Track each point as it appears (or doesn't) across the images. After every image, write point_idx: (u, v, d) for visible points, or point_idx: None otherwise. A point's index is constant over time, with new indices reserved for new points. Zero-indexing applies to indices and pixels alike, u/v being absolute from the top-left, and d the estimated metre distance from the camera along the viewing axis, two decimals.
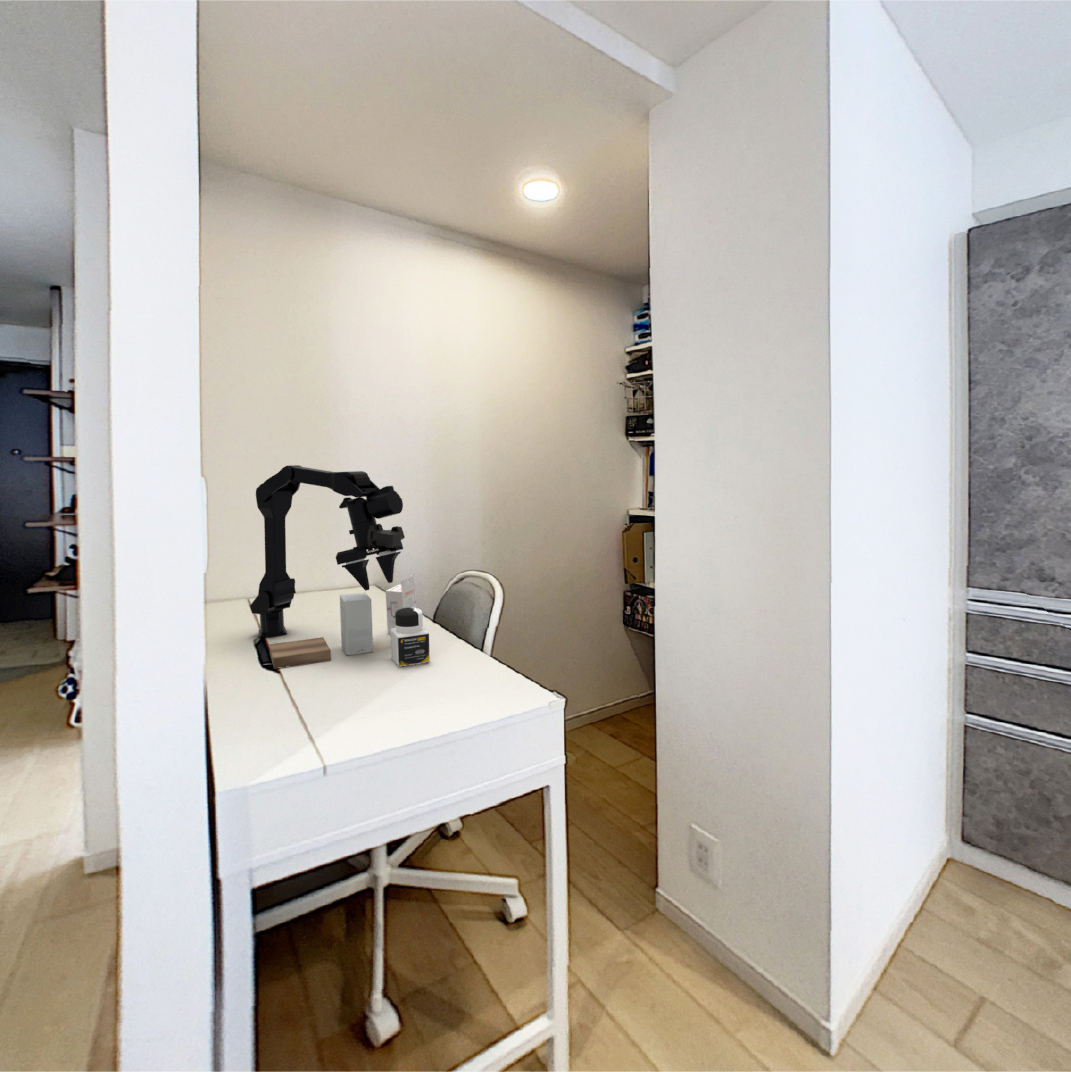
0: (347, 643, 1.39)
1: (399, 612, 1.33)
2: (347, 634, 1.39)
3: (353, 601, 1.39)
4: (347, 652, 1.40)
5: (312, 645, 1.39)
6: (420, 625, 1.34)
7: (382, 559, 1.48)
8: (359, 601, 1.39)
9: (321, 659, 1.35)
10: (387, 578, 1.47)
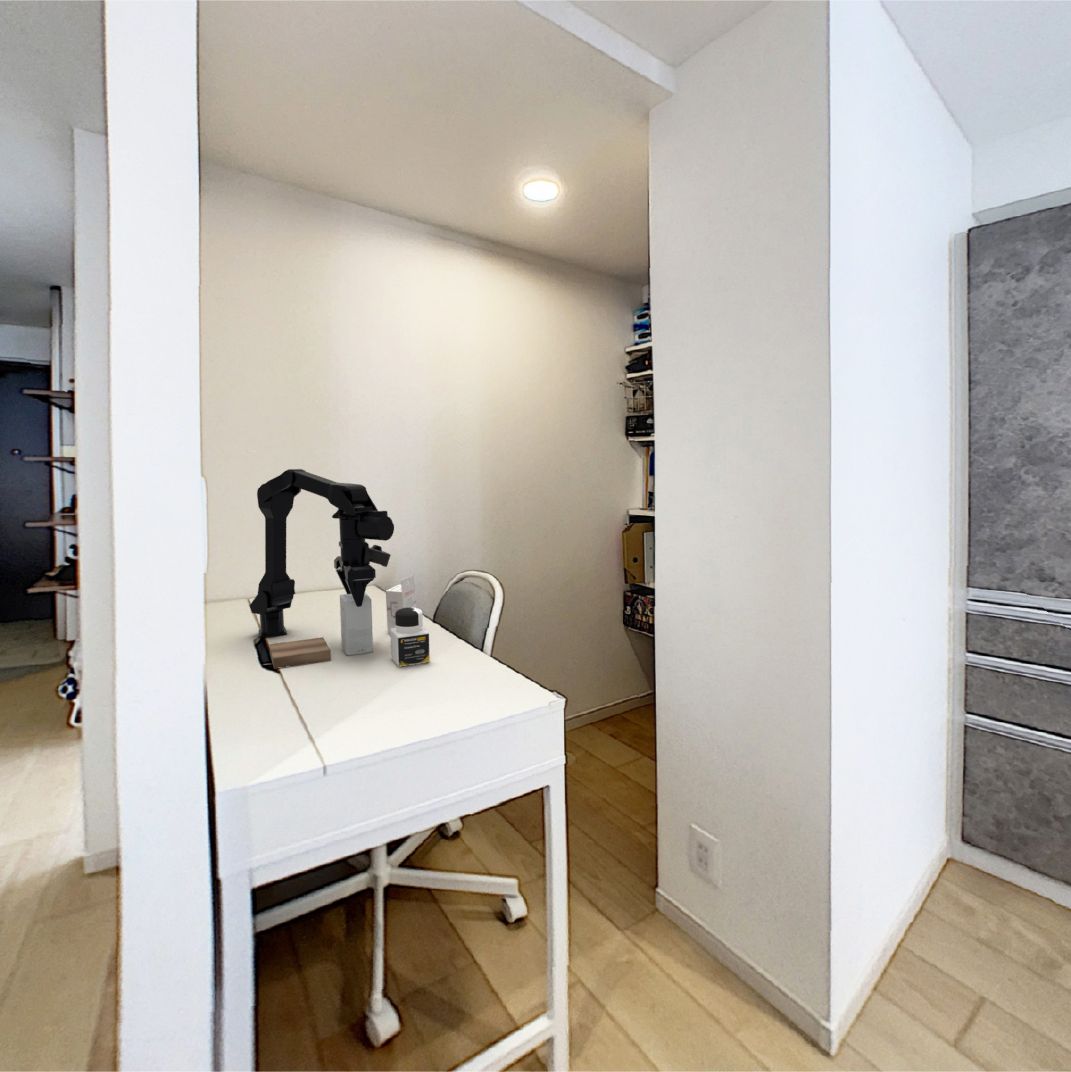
0: (347, 643, 1.39)
1: (399, 612, 1.33)
2: (347, 634, 1.39)
3: (353, 601, 1.39)
4: (347, 652, 1.40)
5: (312, 645, 1.39)
6: (420, 625, 1.34)
7: None
8: None
9: (321, 659, 1.35)
10: None
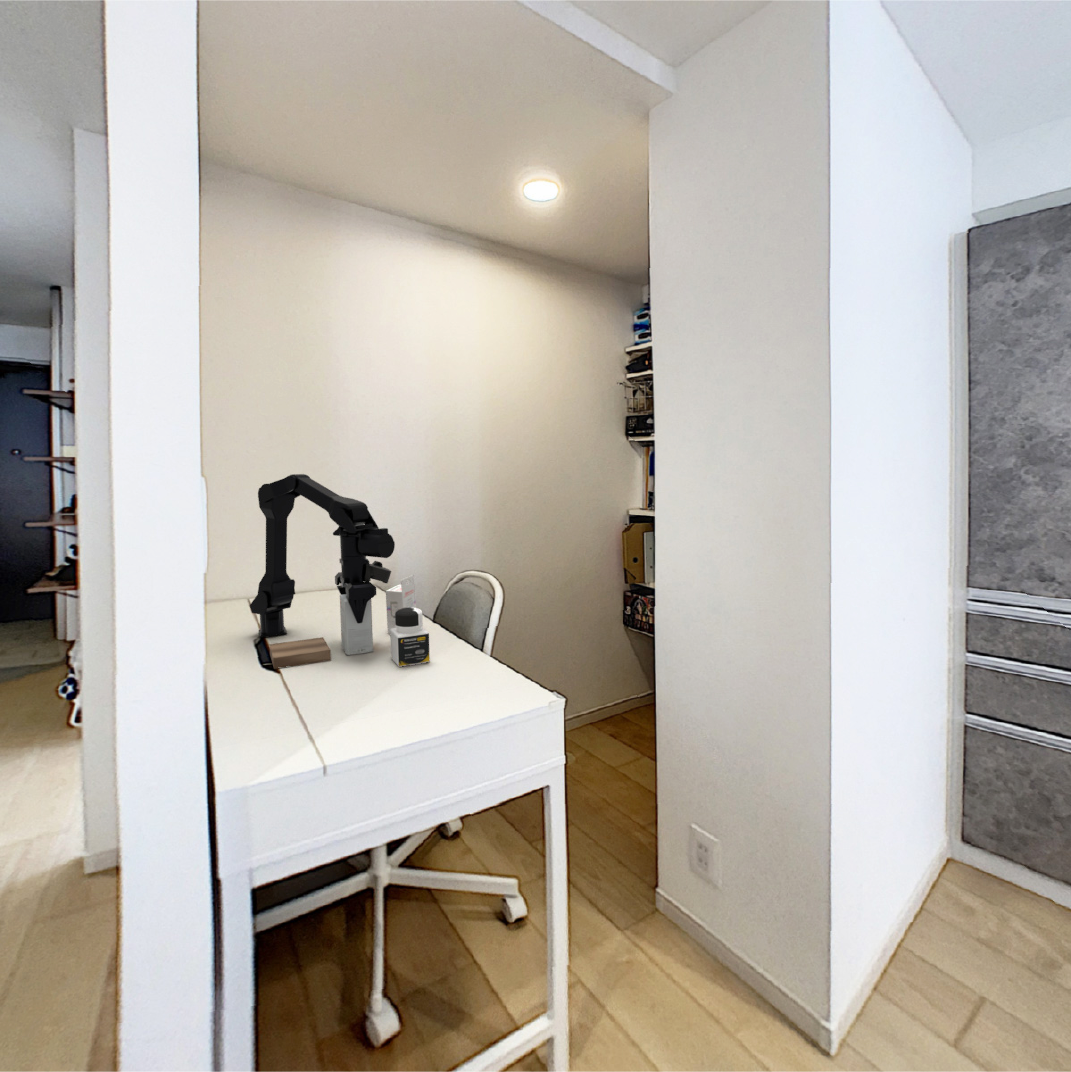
0: (347, 643, 1.39)
1: (399, 612, 1.33)
2: (347, 634, 1.39)
3: None
4: (347, 652, 1.40)
5: (312, 645, 1.39)
6: (420, 625, 1.34)
7: None
8: None
9: (321, 659, 1.35)
10: None
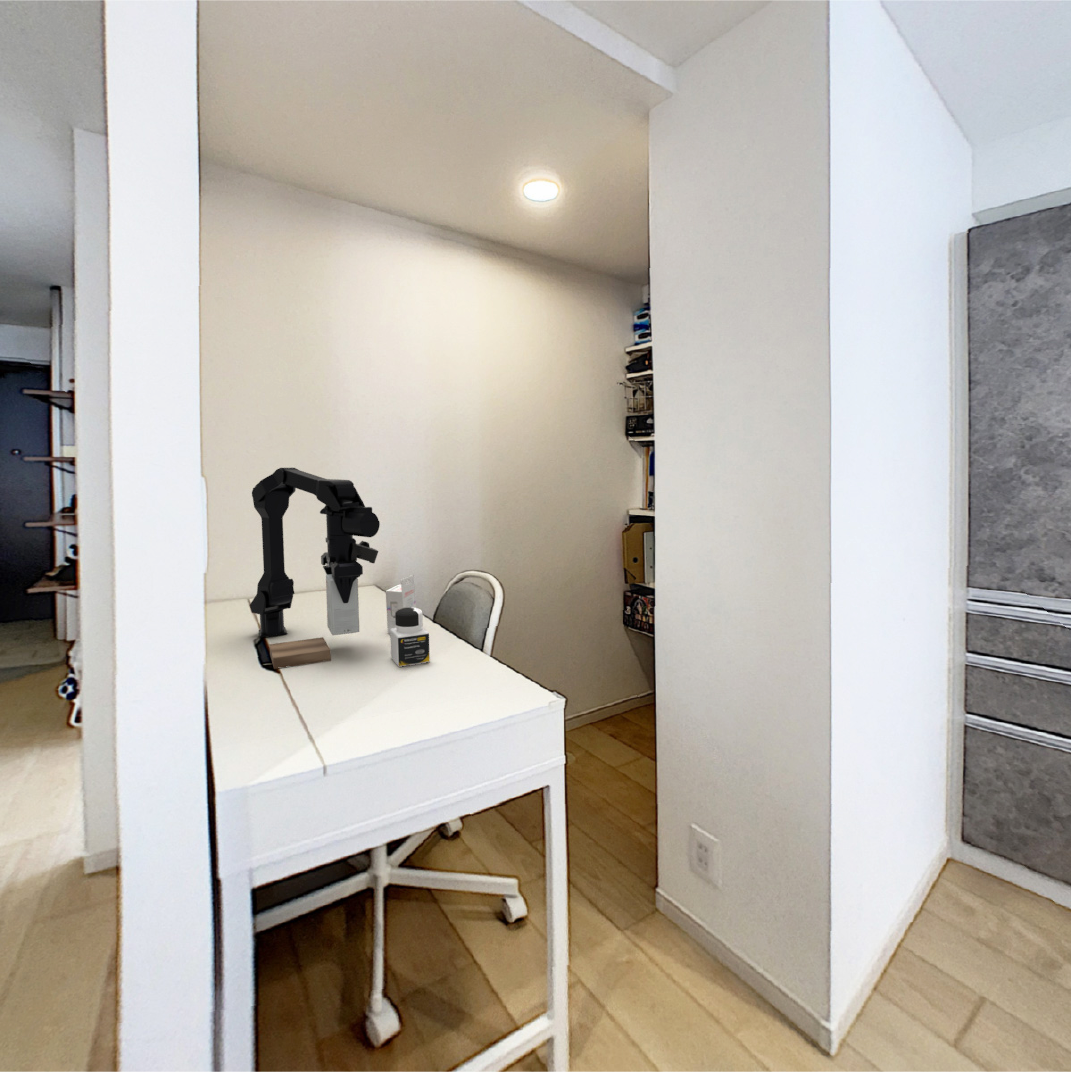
0: (333, 623, 1.37)
1: (399, 612, 1.33)
2: (333, 614, 1.37)
3: None
4: (333, 632, 1.38)
5: (312, 645, 1.39)
6: (420, 625, 1.34)
7: None
8: None
9: (321, 659, 1.35)
10: None
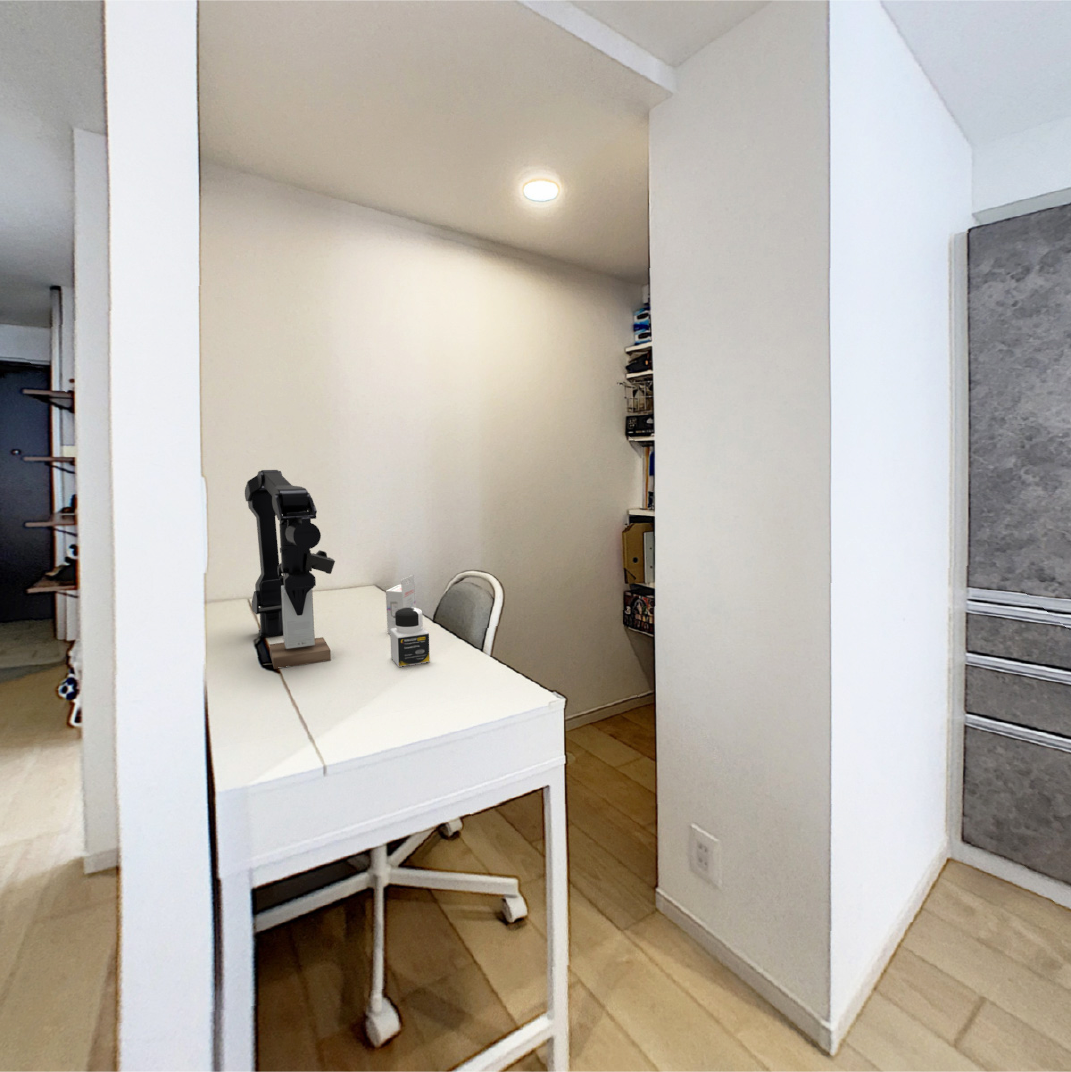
0: (286, 636, 1.33)
1: (399, 612, 1.33)
2: (286, 626, 1.33)
3: None
4: (286, 645, 1.33)
5: (312, 645, 1.39)
6: (420, 625, 1.34)
7: None
8: None
9: (321, 659, 1.35)
10: None
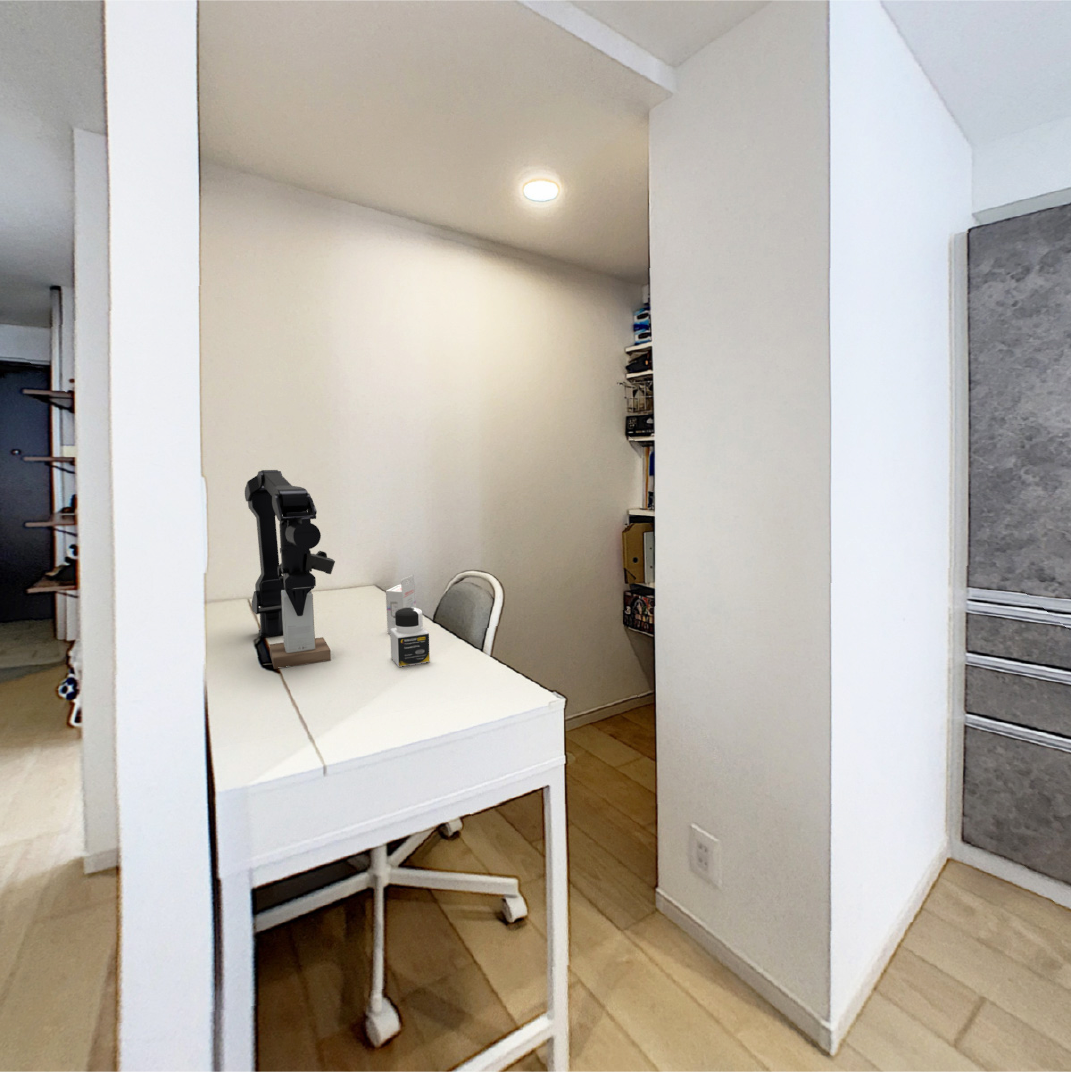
0: (287, 640, 1.33)
1: (399, 612, 1.33)
2: (287, 631, 1.33)
3: None
4: (287, 650, 1.33)
5: None
6: (420, 625, 1.34)
7: None
8: None
9: (321, 659, 1.35)
10: None
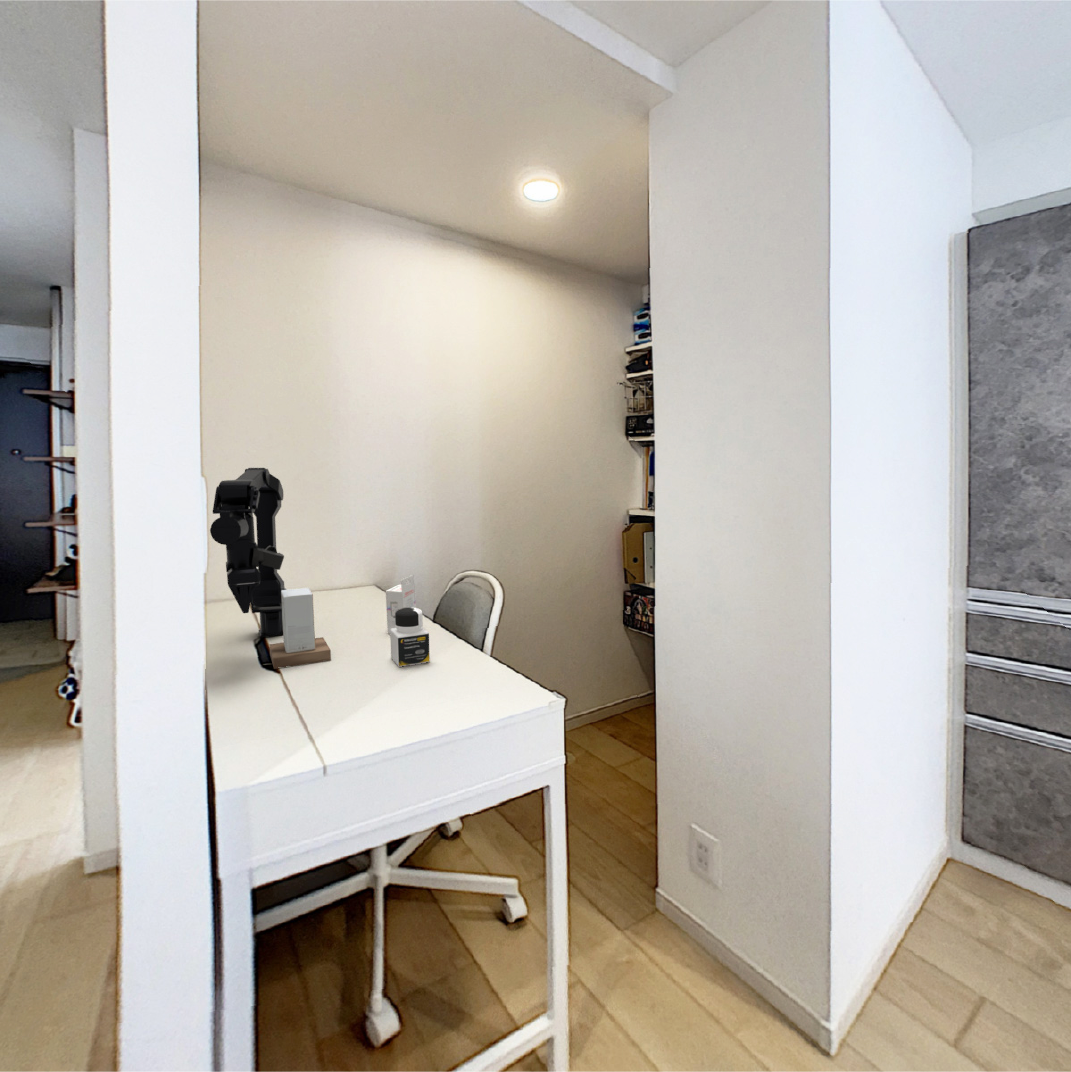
0: (287, 640, 1.33)
1: (399, 612, 1.33)
2: (287, 631, 1.33)
3: (293, 596, 1.33)
4: (287, 650, 1.33)
5: None
6: (420, 625, 1.34)
7: None
8: (299, 596, 1.33)
9: (321, 659, 1.35)
10: None
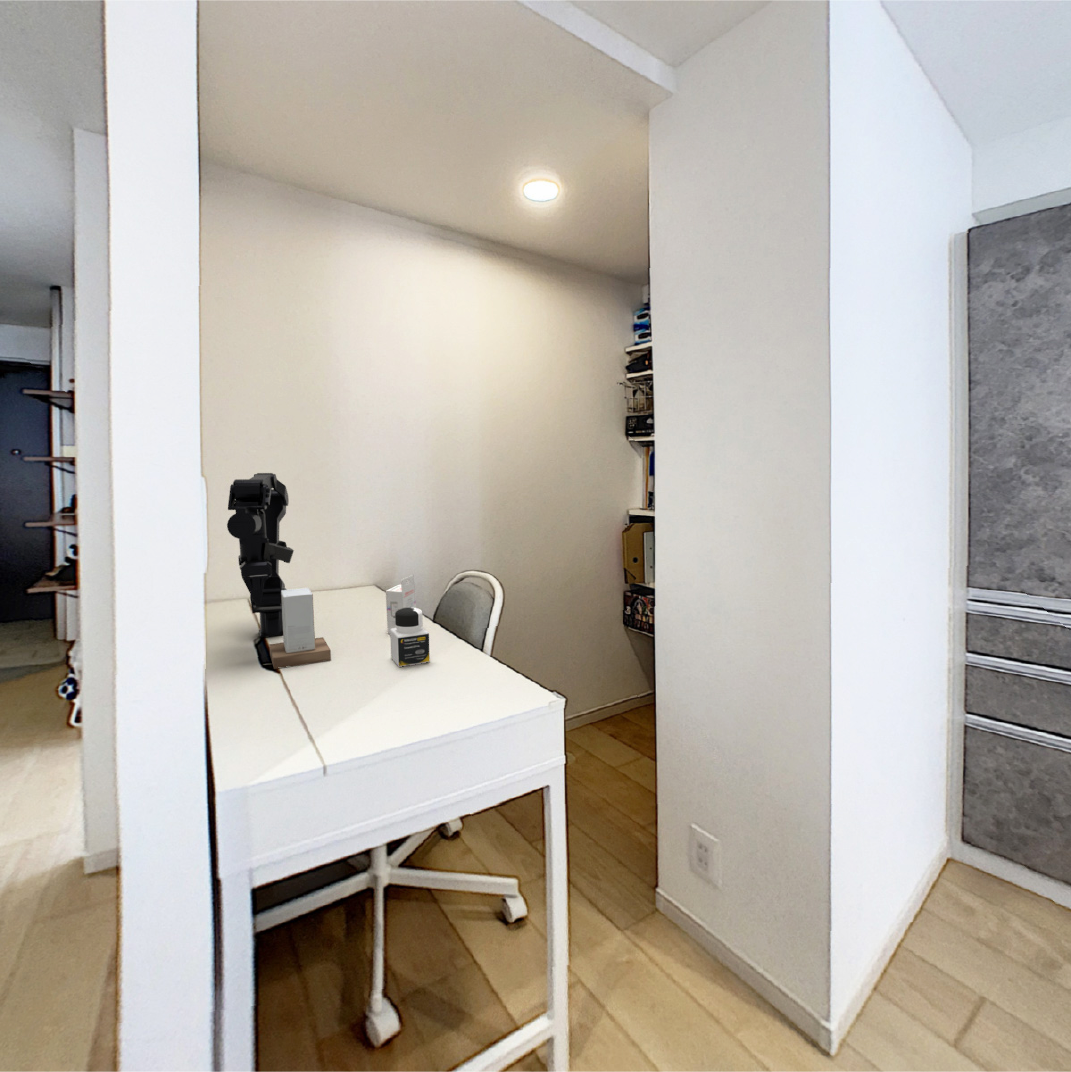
0: (287, 640, 1.33)
1: (399, 612, 1.33)
2: (287, 631, 1.33)
3: (293, 596, 1.33)
4: (287, 650, 1.33)
5: None
6: (420, 625, 1.34)
7: None
8: (299, 596, 1.33)
9: (321, 659, 1.35)
10: None
